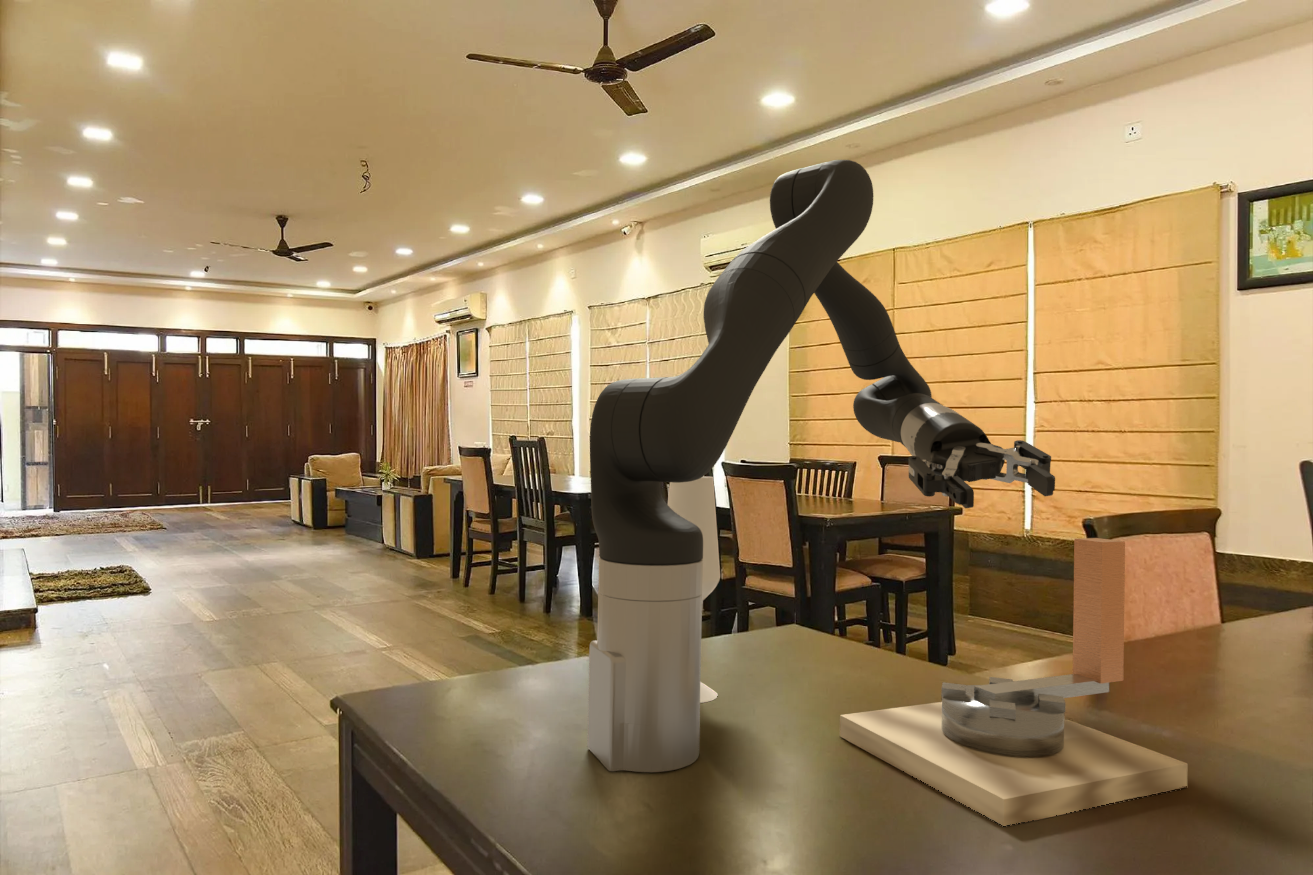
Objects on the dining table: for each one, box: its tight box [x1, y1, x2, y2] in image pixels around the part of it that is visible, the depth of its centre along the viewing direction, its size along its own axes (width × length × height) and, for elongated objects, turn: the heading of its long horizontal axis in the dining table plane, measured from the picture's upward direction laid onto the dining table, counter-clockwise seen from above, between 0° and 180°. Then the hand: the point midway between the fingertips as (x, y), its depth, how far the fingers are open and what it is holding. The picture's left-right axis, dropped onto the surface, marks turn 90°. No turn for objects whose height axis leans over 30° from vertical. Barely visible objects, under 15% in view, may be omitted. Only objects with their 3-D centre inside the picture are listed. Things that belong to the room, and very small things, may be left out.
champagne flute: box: [667, 475, 721, 704], centre depth 91 cm, size 7×7×24 cm
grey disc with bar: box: [940, 537, 1126, 756], centre depth 74 cm, size 18×10×17 cm, turn 113°
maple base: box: [839, 701, 1189, 827], centre depth 73 cm, size 20×20×2 cm
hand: (1010, 493), depth 84 cm, fingers open, 8 cm apart
